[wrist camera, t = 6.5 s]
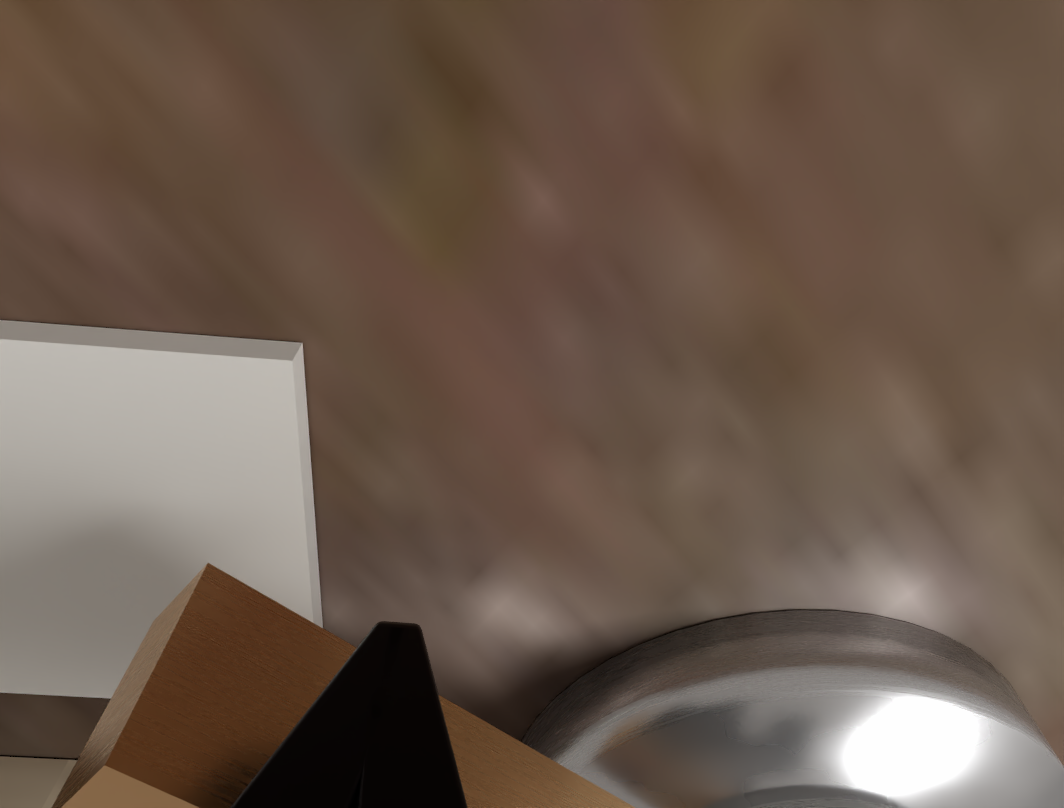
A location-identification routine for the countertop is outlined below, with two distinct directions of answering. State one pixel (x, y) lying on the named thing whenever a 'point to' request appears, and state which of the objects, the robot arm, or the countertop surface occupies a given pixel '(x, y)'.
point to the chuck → (273, 715)
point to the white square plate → (141, 490)
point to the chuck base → (801, 719)
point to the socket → (32, 781)
